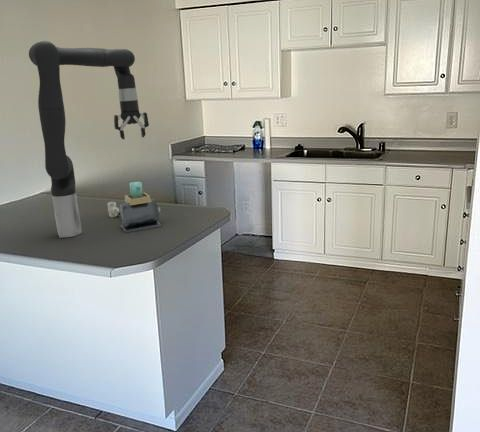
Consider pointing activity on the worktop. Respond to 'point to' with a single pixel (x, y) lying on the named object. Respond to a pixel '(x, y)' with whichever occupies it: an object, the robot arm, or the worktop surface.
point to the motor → (139, 213)
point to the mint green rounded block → (136, 189)
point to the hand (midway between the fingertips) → (133, 138)
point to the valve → (113, 209)
